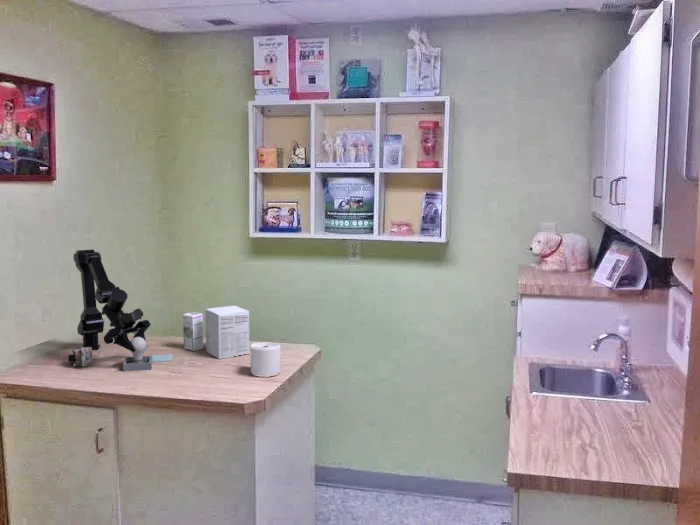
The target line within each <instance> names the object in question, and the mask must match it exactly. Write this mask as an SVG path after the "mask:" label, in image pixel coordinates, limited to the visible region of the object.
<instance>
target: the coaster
mask: <svg viewBox="0 0 700 525" xmlns="http://www.w3.org/2000/svg"><path fill="white" fill-rule="evenodd" d="M150 356H152V363H159V362H173V360H174V359H173V357H174V354H170V353H169V354H154V355H150Z"/></svg>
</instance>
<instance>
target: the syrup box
mask: <svg viewBox="0 0 700 525" xmlns="http://www.w3.org/2000/svg"><path fill="white" fill-rule="evenodd" d="M203 318H204V317H203V313H199V312H194V311H192V312H187V313H183V314H182V324H183V349H184V350H187V351H192V352H197V351H199V349H200V350H203V349H204V322H203V320H204V319H203ZM202 348H203V349H202ZM196 350H197V351H196Z"/></svg>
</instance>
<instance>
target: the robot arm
mask: <svg viewBox="0 0 700 525" xmlns="http://www.w3.org/2000/svg"><path fill="white" fill-rule="evenodd" d="M73 262H74V263H75V267H76V269H77V270H78V271H79V272H80V278H81V289H82V299H83V300H82V302H83V311H82V312H81V314H80V320H79V323H78V325H77V328H76V329H77V334H78V335H80V336H82V344H83V345H82V346H81V348H85V347H92V351H94V350H95V351H96V350H100V348H101V346H102V345H101V344H99V343H100V342H99V334H101V333H103V332H104V326H105V320H104V318H103V315H105V316H106V318H107V319H108V320H109V322H110V323H109V326H110V327H113V328H110V329H109V330H108V331H107V332H106V333H105V334H104V336H103V341H104V342H105V344H106V345H110V344H112V343H113V345H118V346H120V347H122V348H124V349H126V350H128V351H130V352H131V351H132V352H135V348H134V347H133V345H132V344H131V342H130V341H131V340H130V339H129V337H128V335H129V334H133V337H132V339H133V338H135V337H141V338H143V339H144V340H145V341H146V344H147V345H148V343H147V340H146V336H145V332H146V331H147V330H148V329H149V327H150V326H151V322H150V321H149V320H148V319H144V320H143V318H142V317H144V312H143V310H142V309H141V308H136V309H134V310H133V311H132V312H124V310H123V308H124V306H125V304H126V301H127V300H128V293H127V292H126V291H125V290H123V289H121V288H120V287H119V286H116V285H115V283H113V282H111V281H110V279H109V277H108V275H107V272H106V270H105V267H104V265H103V262H102V255H101V254H100V252H98V251H95V250H94V249H92V248H91V249H80V250H79V249H78V250H76V252H75V253H73ZM95 286H96V288H95ZM97 303H98V304H101V305H103V304H105V305H103V307H102V308H101V309H102V310H101V311H100V310H99V309H98V308H97ZM138 320H139V321H138ZM137 321H138V322H137ZM147 348H148V346H147V347H146V349H147ZM132 352H131V353H132Z"/></svg>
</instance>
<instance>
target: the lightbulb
mask: <svg viewBox="0 0 700 525" xmlns="http://www.w3.org/2000/svg"><path fill="white" fill-rule="evenodd" d="M130 342H131V344H132V345H133V347H134V348H135V352H132V351H130V352H131V354H132V357H134V363H142V359H143V356H144V353H145V351H146V349H147V348H148V343H147V340H146V341H145V340H144V339H143V338H141V337H135V338H133V337H132V339H131V340H130ZM146 343H147V344H146ZM146 347H147V348H146Z"/></svg>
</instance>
